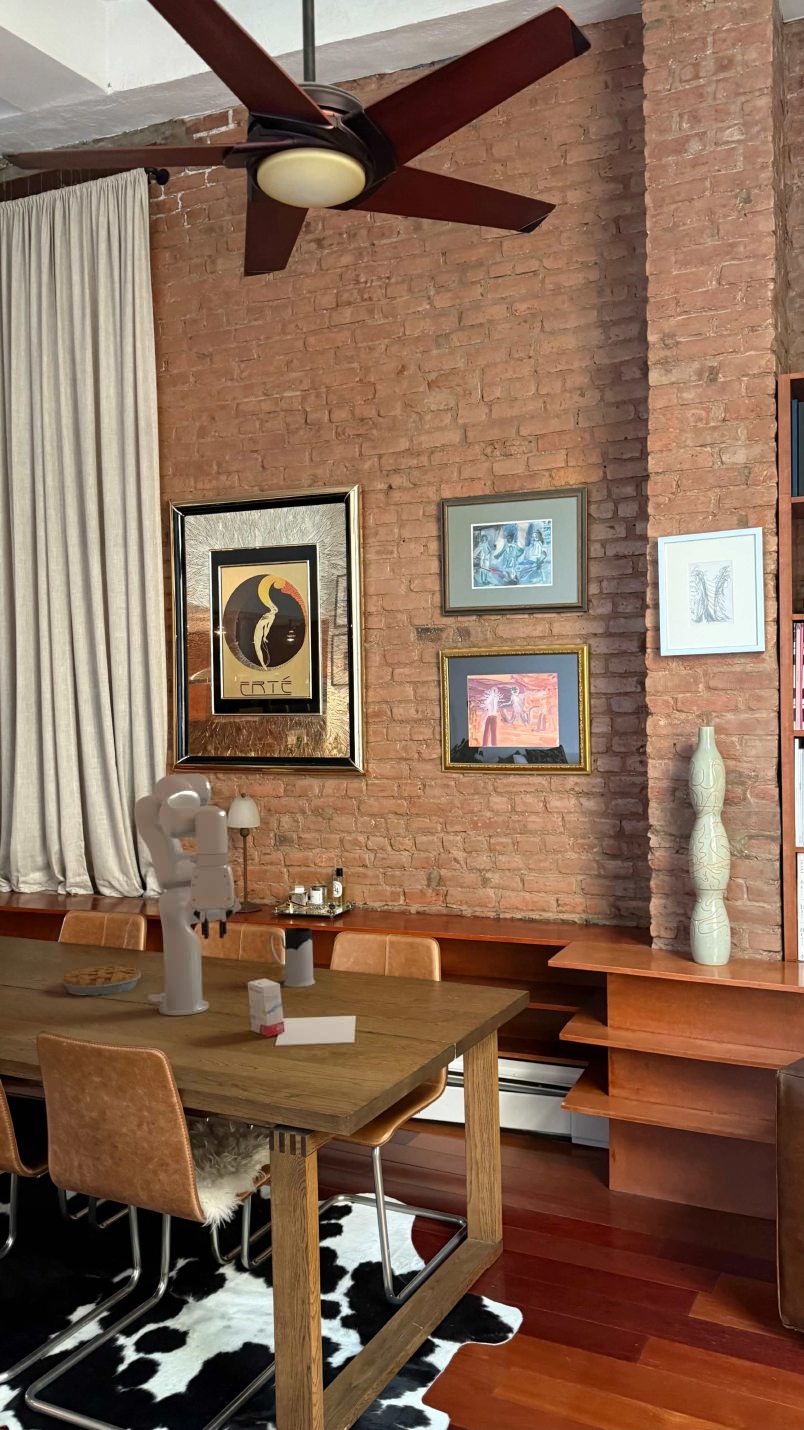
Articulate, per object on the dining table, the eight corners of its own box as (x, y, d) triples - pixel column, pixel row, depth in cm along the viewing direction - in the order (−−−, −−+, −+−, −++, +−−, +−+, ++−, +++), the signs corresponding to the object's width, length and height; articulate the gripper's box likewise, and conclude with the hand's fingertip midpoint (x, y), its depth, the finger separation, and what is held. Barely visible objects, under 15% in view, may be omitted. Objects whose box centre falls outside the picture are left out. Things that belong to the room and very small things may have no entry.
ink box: (285, 1033, 258) (281, 983, 258) (266, 1038, 256) (262, 987, 256) (269, 1026, 266) (265, 977, 266) (250, 1030, 263) (246, 981, 263)
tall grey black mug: (302, 988, 303) (301, 934, 303) (262, 983, 311) (261, 930, 311) (321, 981, 311) (319, 928, 311) (281, 976, 318) (280, 925, 318)
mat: (275, 1046, 250) (275, 1044, 250) (283, 1019, 272) (283, 1018, 272) (354, 1043, 250) (354, 1041, 250) (355, 1017, 272) (355, 1015, 272)
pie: (138, 976, 325) (138, 959, 325) (145, 992, 304) (144, 974, 304) (61, 983, 318) (61, 966, 318) (63, 1001, 297) (62, 983, 297)
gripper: (174, 863, 256) (177, 942, 256) (244, 861, 257) (246, 939, 257) (180, 859, 264) (182, 936, 264) (248, 857, 264) (250, 933, 264)
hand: (214, 937), depth 260 cm, fingers open, 3 cm apart
